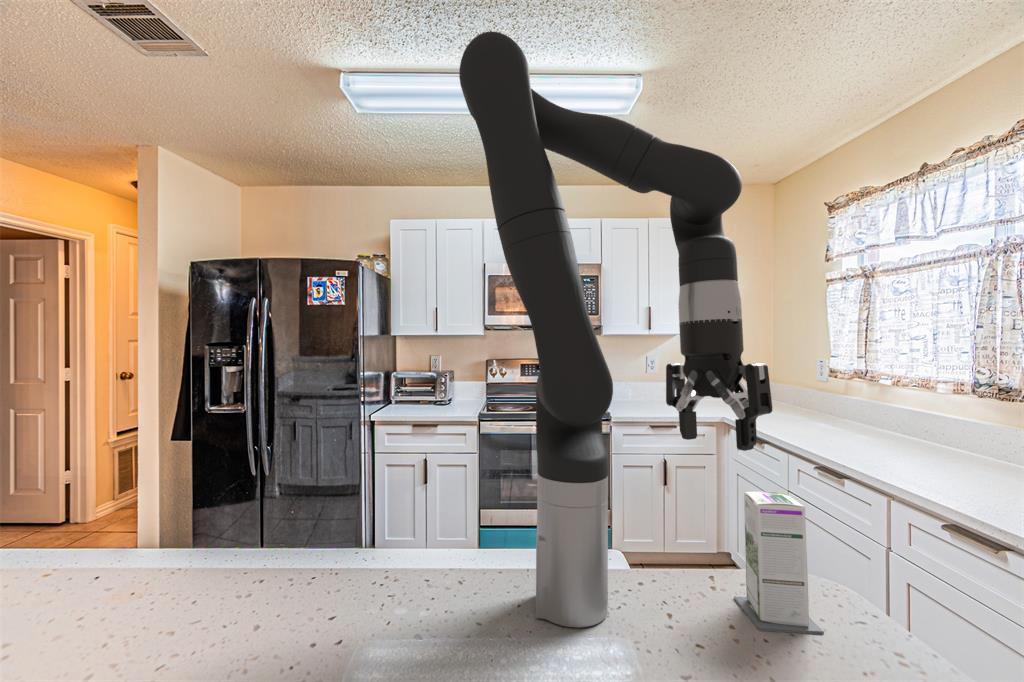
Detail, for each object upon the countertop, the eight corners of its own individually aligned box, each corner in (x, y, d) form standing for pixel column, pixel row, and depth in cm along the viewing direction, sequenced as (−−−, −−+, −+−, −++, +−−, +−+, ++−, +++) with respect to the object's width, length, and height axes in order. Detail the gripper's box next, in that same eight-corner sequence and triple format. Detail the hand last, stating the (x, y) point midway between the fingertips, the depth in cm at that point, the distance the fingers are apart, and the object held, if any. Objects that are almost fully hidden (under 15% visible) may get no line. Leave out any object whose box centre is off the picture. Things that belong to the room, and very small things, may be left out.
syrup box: (811, 628, 54) (809, 505, 55) (758, 621, 56) (756, 502, 56) (792, 603, 60) (790, 492, 61) (743, 598, 61) (742, 489, 62)
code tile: (759, 630, 54) (759, 627, 54) (733, 598, 62) (733, 595, 62) (823, 634, 54) (823, 631, 54) (790, 601, 61) (790, 598, 61)
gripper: (648, 323, 64) (654, 439, 63) (738, 313, 51) (746, 458, 50) (687, 323, 67) (692, 433, 66) (781, 313, 54) (788, 450, 54)
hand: (715, 444), depth 58 cm, fingers open, 8 cm apart
